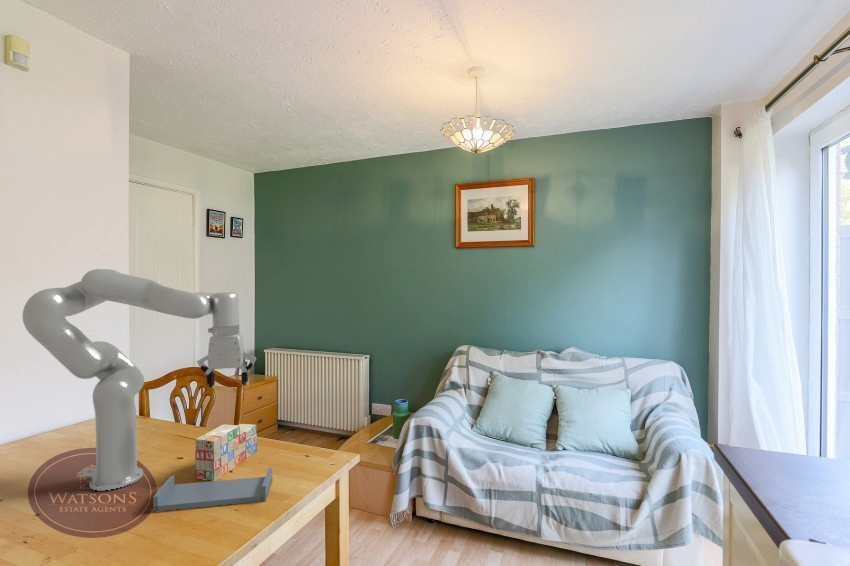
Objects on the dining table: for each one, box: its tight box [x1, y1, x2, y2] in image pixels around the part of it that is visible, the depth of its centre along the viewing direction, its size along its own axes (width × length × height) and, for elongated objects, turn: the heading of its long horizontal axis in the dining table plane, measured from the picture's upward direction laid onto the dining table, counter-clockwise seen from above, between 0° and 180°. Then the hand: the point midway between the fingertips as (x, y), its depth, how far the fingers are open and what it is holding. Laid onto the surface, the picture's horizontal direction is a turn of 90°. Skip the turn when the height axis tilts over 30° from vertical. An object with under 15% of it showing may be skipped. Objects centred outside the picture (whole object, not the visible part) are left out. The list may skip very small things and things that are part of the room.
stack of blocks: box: [194, 423, 258, 481], centre depth 132 cm, size 21×6×12 cm, turn 169°
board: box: [152, 467, 273, 513], centre depth 113 cm, size 27×11×4 cm, turn 102°
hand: (228, 385), depth 131 cm, fingers open, 9 cm apart
